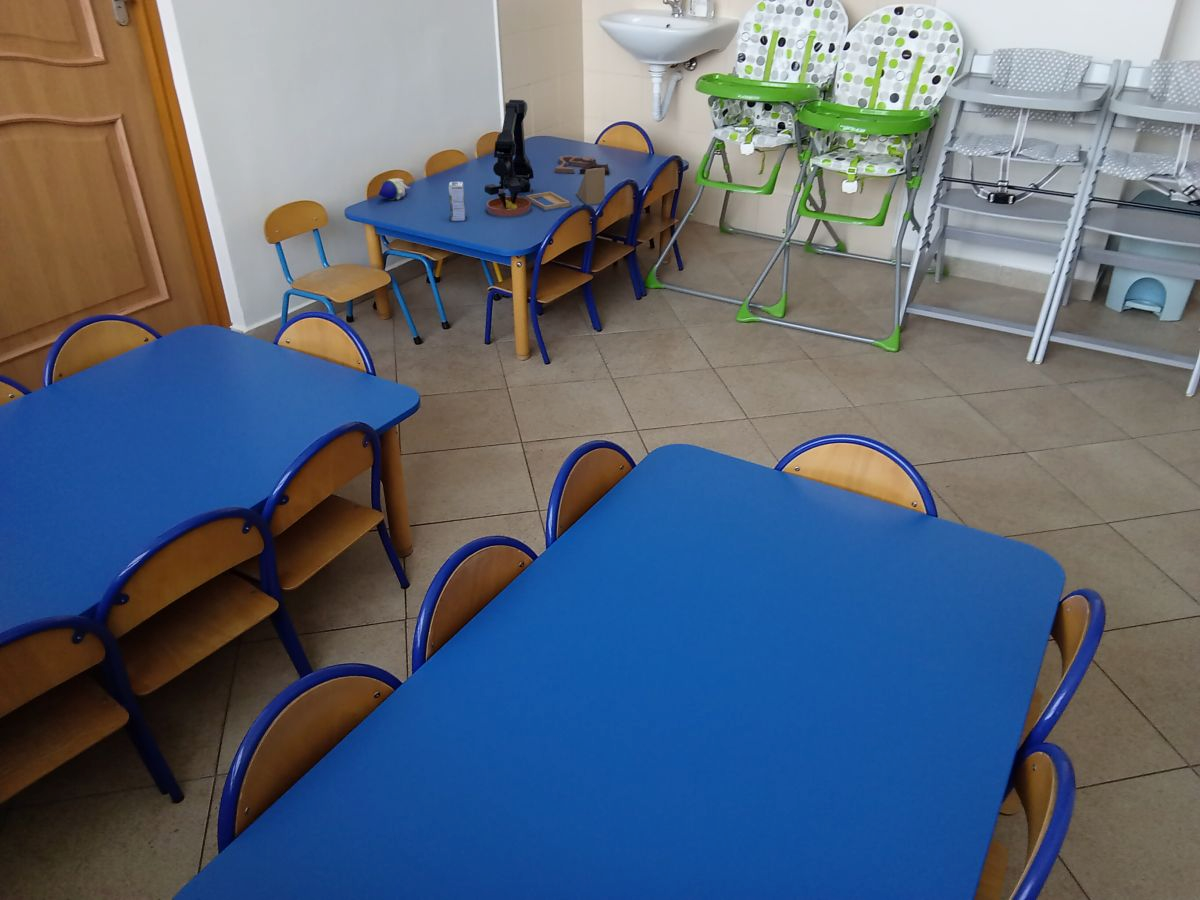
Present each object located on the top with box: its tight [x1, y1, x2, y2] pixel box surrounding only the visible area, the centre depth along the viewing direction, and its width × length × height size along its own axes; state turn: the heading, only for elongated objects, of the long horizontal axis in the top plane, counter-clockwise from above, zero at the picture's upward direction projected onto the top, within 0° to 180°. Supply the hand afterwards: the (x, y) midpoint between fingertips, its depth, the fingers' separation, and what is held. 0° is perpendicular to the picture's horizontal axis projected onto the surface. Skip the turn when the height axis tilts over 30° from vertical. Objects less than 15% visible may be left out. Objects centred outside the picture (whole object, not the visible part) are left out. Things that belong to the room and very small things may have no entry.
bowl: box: [486, 195, 532, 217], centre depth 375 cm, size 18×18×3 cm
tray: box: [525, 191, 571, 211], centre depth 383 cm, size 18×12×2 cm
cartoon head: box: [378, 177, 411, 201], centre depth 388 cm, size 9×10×20 cm
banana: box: [506, 200, 518, 209], centre depth 375 cm, size 12×4×3 cm, turn 31°
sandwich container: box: [576, 168, 606, 205], centre depth 385 cm, size 9×15×15 cm, turn 18°
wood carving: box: [554, 154, 610, 176], centre depth 431 cm, size 28×2×24 cm
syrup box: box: [448, 181, 466, 222], centre depth 363 cm, size 6×6×14 cm
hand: (508, 207), depth 375 cm, fingers closed on banana, 3 cm apart
